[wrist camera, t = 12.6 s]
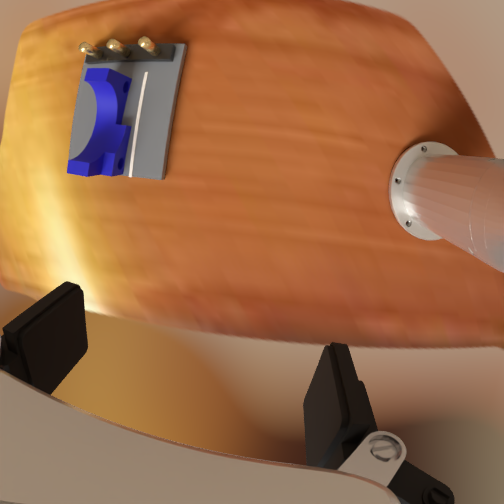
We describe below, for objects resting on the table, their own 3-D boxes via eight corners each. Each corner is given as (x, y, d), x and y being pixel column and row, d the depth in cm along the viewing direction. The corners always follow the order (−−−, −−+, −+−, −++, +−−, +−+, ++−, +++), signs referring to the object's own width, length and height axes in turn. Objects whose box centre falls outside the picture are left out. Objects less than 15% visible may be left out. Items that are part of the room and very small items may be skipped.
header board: (187, 46, 31) (184, 43, 30) (164, 180, 36) (160, 180, 35) (91, 50, 31) (87, 48, 30) (72, 170, 37) (67, 170, 35)
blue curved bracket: (122, 174, 35) (98, 178, 30) (93, 169, 35) (66, 172, 30) (142, 79, 32) (121, 68, 26) (111, 77, 32) (87, 68, 26)
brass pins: (176, 47, 30) (162, 32, 25) (172, 61, 31) (158, 49, 26) (92, 51, 30) (71, 41, 25) (89, 64, 31) (67, 55, 26)
